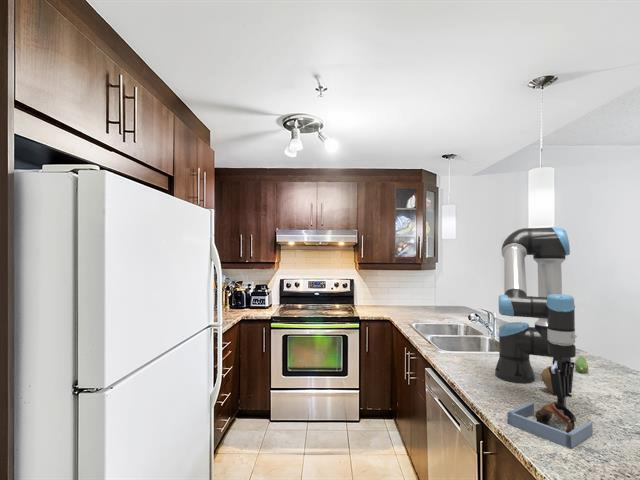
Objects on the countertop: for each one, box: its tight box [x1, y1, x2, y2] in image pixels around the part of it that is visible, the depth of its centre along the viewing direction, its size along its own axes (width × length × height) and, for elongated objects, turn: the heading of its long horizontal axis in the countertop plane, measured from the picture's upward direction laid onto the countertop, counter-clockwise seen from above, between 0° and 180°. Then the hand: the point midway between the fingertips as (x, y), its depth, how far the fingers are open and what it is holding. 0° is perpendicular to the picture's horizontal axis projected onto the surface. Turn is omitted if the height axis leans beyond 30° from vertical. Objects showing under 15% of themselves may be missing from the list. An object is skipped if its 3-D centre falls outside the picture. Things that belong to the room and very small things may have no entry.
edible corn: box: [574, 355, 589, 374], centre depth 171 cm, size 5×20×5 cm
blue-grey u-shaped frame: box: [506, 402, 594, 450], centre depth 113 cm, size 18×14×4 cm
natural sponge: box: [540, 365, 553, 393], centre depth 142 cm, size 9×9×10 cm
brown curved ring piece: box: [534, 401, 577, 433], centre depth 113 cm, size 12×10×8 cm
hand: (563, 416), depth 118 cm, fingers closed
